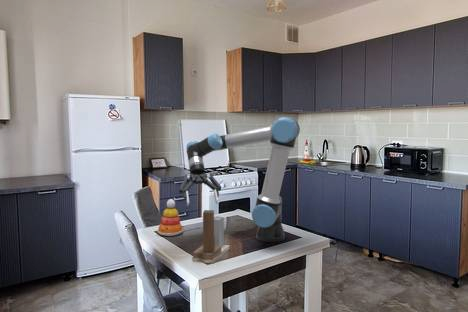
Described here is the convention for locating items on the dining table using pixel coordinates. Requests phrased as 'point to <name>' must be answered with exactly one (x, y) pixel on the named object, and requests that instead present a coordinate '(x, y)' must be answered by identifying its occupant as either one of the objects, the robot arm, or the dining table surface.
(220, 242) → the grey pillar
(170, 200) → the stacking toy
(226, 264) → the dining table surface
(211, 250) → the wooden block
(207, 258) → the base board
